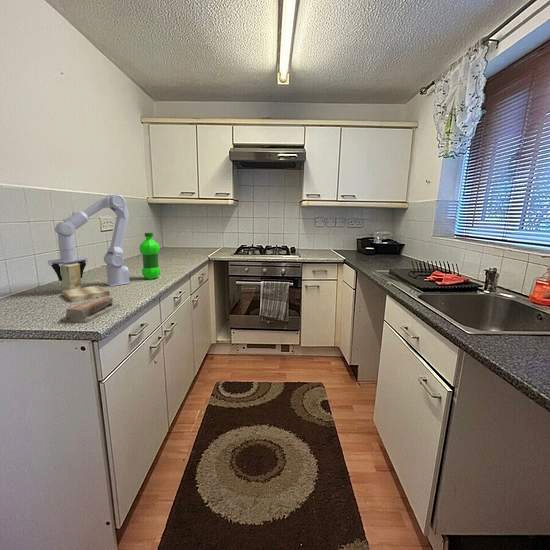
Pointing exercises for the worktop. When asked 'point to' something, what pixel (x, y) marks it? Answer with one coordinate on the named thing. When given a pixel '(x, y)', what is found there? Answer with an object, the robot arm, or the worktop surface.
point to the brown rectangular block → (90, 309)
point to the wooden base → (85, 293)
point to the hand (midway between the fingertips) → (70, 279)
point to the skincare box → (70, 276)
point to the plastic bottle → (150, 257)
